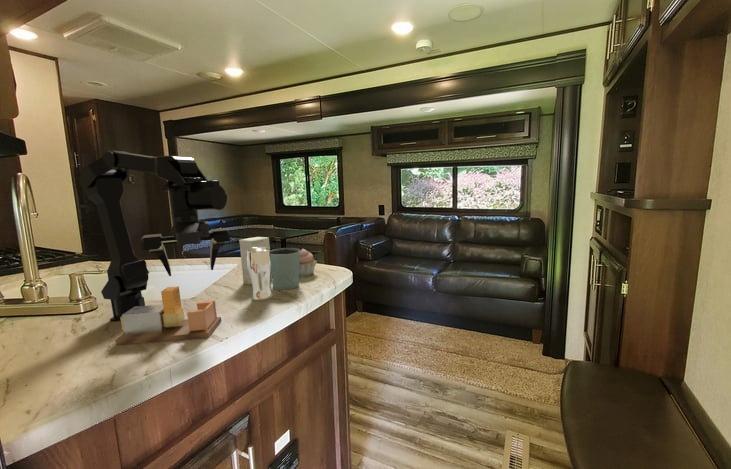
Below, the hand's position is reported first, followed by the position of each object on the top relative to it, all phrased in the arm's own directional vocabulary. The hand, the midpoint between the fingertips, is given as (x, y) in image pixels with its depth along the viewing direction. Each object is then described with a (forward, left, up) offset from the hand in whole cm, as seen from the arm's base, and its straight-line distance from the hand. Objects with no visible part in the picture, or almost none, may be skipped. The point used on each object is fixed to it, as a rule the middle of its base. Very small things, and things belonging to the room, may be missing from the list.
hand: (191, 272), depth 83 cm
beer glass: (+13, +16, -13) cm, 25 cm away
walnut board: (-4, -5, -13) cm, 15 cm away
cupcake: (+24, +38, -14) cm, 47 cm away
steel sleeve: (-9, -5, -12) cm, 16 cm away
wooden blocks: (-8, -5, -11) cm, 14 cm away
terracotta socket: (+3, -5, -12) cm, 13 cm away
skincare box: (+8, +33, -14) cm, 37 cm away
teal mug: (+19, +26, -14) cm, 35 cm away
